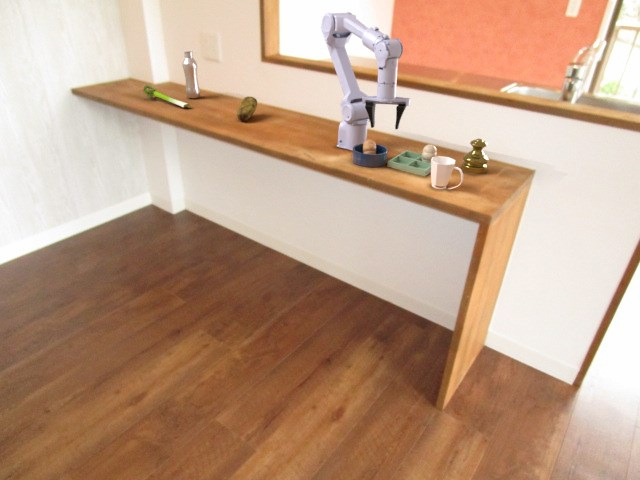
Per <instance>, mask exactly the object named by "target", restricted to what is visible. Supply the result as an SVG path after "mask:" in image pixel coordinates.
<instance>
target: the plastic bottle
mask: <svg viewBox="0 0 640 480" xmlns="http://www.w3.org/2000/svg"><path fill="white" fill-rule="evenodd" d="M183 53H184V54H183V55H184V57H185V58H183V61H182V64H181V65H182V69H183V74H184V78H185V79H184V80H185V95H186V98H188V99H197V98H200V97H201V89H200V86H199V80H198V63H197V61H196V60H195V59H194V53H193V51H184V52H183Z"/></svg>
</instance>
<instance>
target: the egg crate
mask: <svg viewBox="0 0 640 480" xmlns="http://www.w3.org/2000/svg"><path fill="white" fill-rule="evenodd" d="M386 167H388V168H392V169H395V170H398V171H403V172H406V173H411V174H415V175H419V176H423V177H426V176H427V175H429V174H431V163H427V162H423V161H422V153H420V152H415V151H410V150H407V149H406V150H404V151H402V152H401V153H399V154H397V155H396V156H394V157H392V158H390V159H389V160H387V165H386Z"/></svg>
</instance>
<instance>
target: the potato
mask: <svg viewBox="0 0 640 480" xmlns="http://www.w3.org/2000/svg"><path fill="white" fill-rule="evenodd" d="M257 107H258V100H257V98H255V97H254V96H245V97H244V98H242V100H241V102H240V104H239V106H238V109H237V111H236V117H237V119H238V120H239V121H240V122H246V121H249V119H250V118H251V117H252V116H253V115H254V113H255V112H256V109H257Z"/></svg>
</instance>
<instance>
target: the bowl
mask: <svg viewBox="0 0 640 480" xmlns="http://www.w3.org/2000/svg"><path fill="white" fill-rule="evenodd" d="M351 153H352V154H351V161H352V163H354V164H355V165H357V166H360V167H366V168H379V167H383V166H385V165H386V164H388V157H389V156H388V155H389V149H388V147H386V146H385V145H381V144H378V143H376V154H364V153H363V144H357V145H355V146H354V147H353V150H352V152H351Z"/></svg>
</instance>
